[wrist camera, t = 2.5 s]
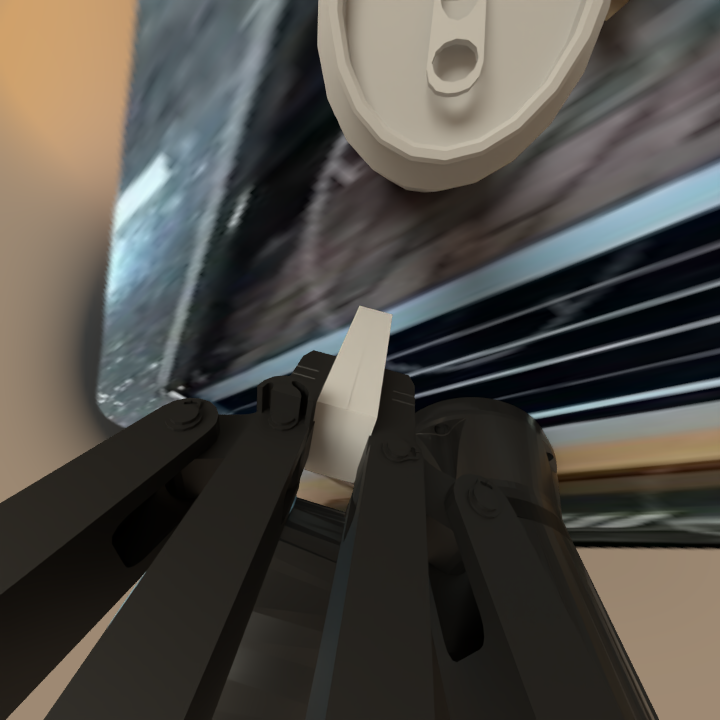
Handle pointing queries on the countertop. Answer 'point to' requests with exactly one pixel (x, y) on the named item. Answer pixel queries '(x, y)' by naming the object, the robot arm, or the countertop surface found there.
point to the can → (451, 80)
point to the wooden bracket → (615, 7)
